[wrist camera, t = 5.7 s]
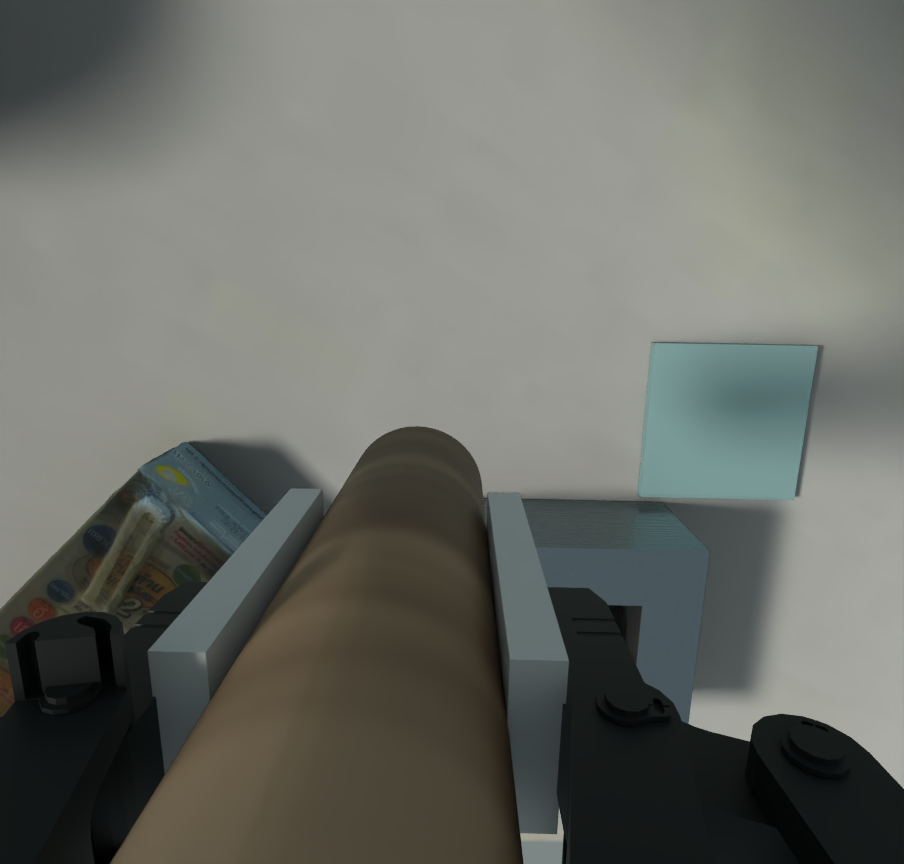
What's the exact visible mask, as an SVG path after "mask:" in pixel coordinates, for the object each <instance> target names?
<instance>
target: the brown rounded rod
mask: <svg viewBox="0 0 904 864" xmlns="http://www.w3.org/2000/svg"><path fill="white" fill-rule="evenodd" d="M486 529H487V528H486V519H485V510H484V501H483V492H482V483H481V477H480V473H479V470H478V467H477V465H476V463H475V461H474V459H473V457H472V456H471V454H470V453H469V452H468V450H467V449H466V448H465V447H464V446H463V445H462V444H461V443H460V442H459V441H457V440H456V439H455V438H453V437H452V436H450V435H448V434H446V433H444V432H442V431H439V430H436V429H432V428H428V427H418V426H416V427H405V428H400V429H397V430H393V431H391V432H389V433H387V434H384V435H383V436H381V437H380V438H378V439H377V440H376V441H374V442H373V443H372V444H371V445H370V446H369V447H368V448H367V449H366V450H365V452H364V453H363V455H362V456H361V458H360V459H359V461H358V463H357V464H356V466H355V468H354V469H353V471H352V472H351V474H350V476H349V477H348V479H347V480H346V482H345V484H344V485H343V487H342V489H341V490H340V492H339V493H338V495H337V497H336V498H335V500H334V501H333V503H332V505H331V506H330V508H329V510H328V511H327V513H326V514H325V516H324V518H323V519H322V521H321V522H320V524H319V526H318V527H317V529H316V531H315V532H314V534H313V535H312V537H311V539H310V540H309V542H308V544H307V545H306V547H305V548H304V550H303V552H302V553H301V555H300V556H299V558H298V560H297V561H296V563H295V565H294V566H293V568H292V569H291V571H290V573H289V574H288V576H287V577H286V579H285V581H284V582H283V584H282V586H281V587H280V589H279V590H278V592H277V594H276V595H275V597H274V598H273V600H272V602H271V603H270V605H269V607H268V608H267V610H266V611H265V613H264V615H263V616H262V618H261V620H260V621H259V623H258V624H257V626H256V628H255V629H254V631H253V632H252V634H251V636H250V637H249V639H248V641H247V642H246V644H245V645H244V647H243V649H242V650H241V652H240V653H239V655H238V657H237V658H236V660H235V662H234V663H233V665H232V666H231V668H230V670H229V671H228V673H227V674H226V676H225V678H224V679H223V681H222V683H221V684H220V686H219V687H218V689H217V691H216V692H215V694H214V696H213V697H212V699H211V700H210V702H209V704H208V705H207V707H206V708H205V710H204V712H203V713H202V715H201V717H200V718H199V720H198V721H197V723H196V725H195V726H194V728H193V729H192V731H191V733H190V734H189V736H188V738H187V739H186V741H185V742H184V744H183V746H182V747H181V749H180V750H179V752H178V754H177V755H176V757H175V759H174V760H173V762H172V763H171V765H170V767H169V768H168V770H167V772H166V773H165V775H164V776H163V778H162V780H161V781H160V783H159V784H158V786H157V788H156V789H155V791H154V793H153V794H152V796H151V797H150V799H149V801H148V802H147V804H146V805H145V807H144V809H143V810H142V812H141V814H140V815H139V817H138V818H137V820H136V822H135V823H134V825H133V827H132V828H131V830H130V831H129V833H128V835H127V836H126V838H125V839H124V841H123V843H122V844H121V846H120V848H119V849H118V851H117V852H116V854H115V856H114V857H113V859H112V860H111V862H110V864H523V856H522V847H521V837H520V828H519V819H518V810H517V801H516V792H515V783H514V774H513V765H512V756H511V747H510V737H509V731H508V725H507V717H506V708H505V698H504V689H503V680H502V671H501V661H500V652H499V643H498V634H497V624H496V615H495V606H494V597H493V587H492V578H491V569H490V559H489V550H488V541H487V532H486Z"/></svg>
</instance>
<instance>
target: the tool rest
mask: <svg viewBox="0 0 904 864" xmlns="http://www.w3.org/2000/svg"><path fill="white" fill-rule="evenodd" d="M817 350H818V346H814V345H774V344H716V343H659V342H652V343H651V354H650V365H649V375H648V386H647V397H646V408H645V419H644V429H643V440H642V451H641V462H640V473H639V483H638V495H639V496H640V497H670V498H718V499H765V500H794V497H795V491H796V485H797V478H798V472H799V465H800V459H801V453H802V446H803V440H804V433H805V427H806V421H807V414H808V408H809V402H810V395H811V389H812V382H813V376H814V370H815V363H816V357H817Z"/></svg>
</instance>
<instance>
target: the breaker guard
mask: <svg viewBox="0 0 904 864" xmlns="http://www.w3.org/2000/svg"><path fill="white" fill-rule="evenodd" d="M521 500H522V503H523V507H524V510H525V513H526V517H527V520H528V524H529V527H530V530H531V534H532V537H533V541H534V544H535V547H536V551H537V554H538V557H539V561H540V564H541V568H542V571H543V574H544V578H545V581H546V585H547V587H565V588H589V589H591V590H592V591H593V592H594V593H596V594H597V595H598V596H599V597H600V598H602V599H603V600H604V601H605V602H607V605H608V607H609V609H610V611H611V613H612V615H613V617H614V622H616V624H617V626H618V628H619V630H620V632H621V636H623V638H624V641H625V643H626V645H627V647H628V649H629V651H630V653H631V655H632V657H633V660H634V662H635V664H636V666H637V668H638V670H639V672H640V674H641V676H642V679H643V681H644V683H646V684H648V685H650V686H652V687H654V688H656V689H658V690H660V691H661V692H662V693H663V694H664V695H665V696H666V697H668V698H669V699H670V700H671V701H672V702H673V703H674V705H675V707H676V709H677V711H678V713H679V715H680V717H681V721H683V722H685V723H687V724H688V722H689V714H690V706H691V698H692V690H693V682H694V674H695V666H696V658H697V650H698V642H699V634H700V626H701V618H702V610H703V602H704V594H705V586H706V578H707V570H708V562H709V554H710V551H709V550H708V549H707V548H706V547H705V546H704V545H703V544H702V543H701V542H700V541H699V540H698V539H697V538H696V537H695V536H694V535H693V533H692V532H691V531H690V530H689V529H688V528H687V527H686V526H685V525H684V524H683V523H682V522H681V521H680V520H679V519H678V518H677V517H676V516H675V515H674V514H673V513H672V512H671V511H670V510H669V509H668V508H667V507H666V506H665V505H664V504H663V503H662V502H640V501H592V500H544V499H521ZM483 501H484V510H485V519H486V528H487V498H483Z"/></svg>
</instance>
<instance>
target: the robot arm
mask: <svg viewBox="0 0 904 864" xmlns="http://www.w3.org/2000/svg"><path fill="white" fill-rule="evenodd" d="M322 519H323V491H322V489H296V488H291V489H290V490H289V491H288V492H287V493H286V494H285V496H284V497H283V498H282V499H281V500H280V501H279V502H278V504H277V505H276V506H275V507H274V508H273V509H272V510H271V511H270V513H269V514H268V515H267V516H266V517H265V518H264V519H263V521H262V522H261V523H260V524H259V525H258V526H257V527H256V528H255V530H254V531H253V532H252V533H251V534H250V535H249V536H248V538H247V539H246V540H245V541H244V542H243V543H242V544H241V546H240V547H239V548H238V549H237V550H236V551H235V552H234V553H233V555H232V556H231V557H230V558H229V559H228V560H227V561H226V563H225V564H224V565H223V566H222V567H221V568H220V569H219V570H218V572H217V573H216V574H215V575H214V576H213V577H212V578H211V580H210V581H209V582H195V581H188V582H186V583H184V584H183V585H181V586H179V587H177V588H175V589H173V590H172V591H170V592H168V593H166V594H164V595H163V596H162V597H161V598H160V599H159V600H158V601H157V602H156V603H155V604H154V605H153V606H152V607H151V608H150V609H149V610H148V614H144V615H143V616H142V617H141V618H140V619H139V620H138V621H137V622H136V623H135V627H134V628H130V629H129V630H128V631H127V632H126V634H125V635H124V630H123V624H122V622H121V621H120V620H119V618H118V617H117V616H115V615H111V614H108V613H105V612H80V613H73V614H67V615H62V616H59V617H55V618H52V619H49V620H46V621H42V622H40V623H38V624H35V625H33V626H31V627H29V628H27V629H25V630H23V631H21V632H19V633H18V634H17V635H15V636H14V637H13V638H11V639H10V640H9V641H8V642H6V643H5V648H6V654H7V660H8V665H9V671H10V677H11V682H12V688H13V693H14V699H15V702H14V703H13V704H12V706H11V707H10V708H9V709H8V711H7V712H6V713H5V714H4V716H3V717H0V864H110V862H111V860H112V859H113V857H114V856H115V854H116V852H117V851H118V849H119V848H120V846H121V844H122V843H123V841H124V839H125V838H126V836H127V835H128V833H129V831H130V830H131V828H132V827H133V825H134V823H135V822H136V820H137V818H138V817H139V815H140V814H141V812H142V810H143V809H144V807H145V805H146V804H147V802H148V801H149V799H150V797H151V796H152V794H153V793H154V791H155V789H156V788H157V786H158V784H159V783H160V781H161V780H162V778H163V776H164V775H165V773H166V772H167V770H168V768H169V767H170V765H171V763H172V762H173V760H174V759H175V757H176V755H177V754H178V752H179V750H180V749H181V747H182V746H183V744H184V742H185V741H186V739H187V738H188V736H189V734H190V733H191V731H192V729H193V728H194V726H195V725H196V723H197V721H198V720H199V718H200V717H201V715H202V713H203V712H204V710H205V708H206V707H207V705H208V704H209V702H210V700H211V699H212V697H213V696H214V694H215V692H216V691H217V689H218V687H219V686H220V684H221V683H222V681H223V679H224V678H225V676H226V674H227V673H228V671H229V670H230V668H231V666H232V665H233V663H234V662H235V660H236V658H237V657H238V655H239V653H240V652H241V650H242V649H243V647H244V645H245V644H246V642H247V641H248V639H249V637H250V636H251V634H252V632H253V631H254V629H255V628H256V626H257V624H258V623H259V621H260V620H261V618H262V616H263V615H264V613H265V611H266V610H267V608H268V607H269V605H270V603H271V602H272V600H273V598H274V597H275V595H276V594H277V592H278V590H279V589H280V587H281V586H282V584H283V582H284V581H285V579H286V577H287V576H288V574H289V573H290V571H291V569H292V568H293V566H294V565H295V563H296V561H297V560H298V558H299V556H300V555H301V553H302V552H303V550H304V548H305V547H306V545H307V544H308V542H309V540H310V539H311V537H312V535H313V534H314V532H315V531H316V529H317V527H318V526H319V524H320V522H321V521H322ZM486 532H487V541H488V550H489V559H490V569H491V578H492V587H493V597H494V606H495V615H496V624H497V634H498V643H499V652H500V661H501V671H502V680H503V689H504V698H505V708H506V717H507V725H508V731H509V737H510V747H511V756H512V765H513V774H514V783H515V792H516V801H517V810H518V819H519V828H520V833H537V834H557V826H558V812H559V809H560V814H561V819H562V824H563V830H564V839H563V854H562V864H904V789H903V788H902V787H901V786H900V785H899V784H898V783H897V781H896V780H895V779H894V778H893V777H892V776H891V775H890V774H889V773H888V772H887V771H886V770H885V769H884V768H883V767H882V766H881V765H880V763H879V762H878V761H877V760H876V759H875V758H874V757H873V756H872V755H871V754H870V753H869V752H868V751H867V750H865V749H864V748H863V747H862V746H861V745H859V744H858V743H857V742H856V741H855V740H853V739H852V738H851V737H849V736H847V735H846V734H844V733H842V732H840V731H838V730H836V729H835V728H833V727H831V726H829V725H827V724H824V723H822V722H819V721H815V720H813V719H809V718H806V717H803V716H795V715H787V714H777V715H771V716H765V717H763V718H762V719H760V720H759V721H758V722H756V723H755V724H754V725H753V729H752V734H751V740H750V742H749V741H745V740H741V739H737V738H733V737H729V736H725V735H721V734H717V733H713V732H709V731H706V730H703V729H700V728H697V727H694V726H692V725H690V724H687V723H685V722H683V721H681V717H680V715H679V713H678V711H677V709H676V707H675V705H674V703H673V702H672V701H671V700H670V699H669V698H668V697H666V696H665V695H664V694H663V693H662V692H661V691H660V690H658V689H656V688H654V687H652V686H650V685H648V684H646V683H644V681H643V679H642V676H641V674H640V672H639V670H638V668H637V666H636V664H635V662H634V660H633V657H632V655H631V653H630V651H629V649H628V647H627V645H626V643H625V641H624V638H623V636H621V632H620V630H619V628H618V626H617V624H616V622H614V617H613V615H612V613H611V611H610V609H609V607H608V605H607V602H605V601H604V600H603V599H602V598H600V597H599V596H598V595H597V594H596V593H594V592H593V591H592V590H591V589H589V588H565V587H547V585H546V581H545V578H544V574H543V571H542V568H541V564H540V561H539V557H538V554H537V551H536V547H535V544H534V541H533V537H532V534H531V530H530V527H529V524H528V520H527V517H526V513H525V510H524V507H523V503H522V500H521V496H520V493H498V492H488V497H487V529H486Z"/></svg>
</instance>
